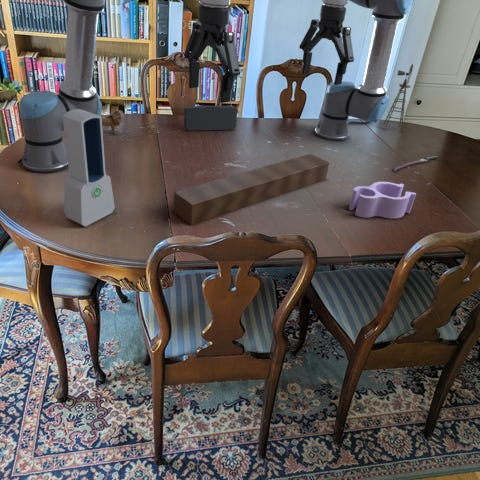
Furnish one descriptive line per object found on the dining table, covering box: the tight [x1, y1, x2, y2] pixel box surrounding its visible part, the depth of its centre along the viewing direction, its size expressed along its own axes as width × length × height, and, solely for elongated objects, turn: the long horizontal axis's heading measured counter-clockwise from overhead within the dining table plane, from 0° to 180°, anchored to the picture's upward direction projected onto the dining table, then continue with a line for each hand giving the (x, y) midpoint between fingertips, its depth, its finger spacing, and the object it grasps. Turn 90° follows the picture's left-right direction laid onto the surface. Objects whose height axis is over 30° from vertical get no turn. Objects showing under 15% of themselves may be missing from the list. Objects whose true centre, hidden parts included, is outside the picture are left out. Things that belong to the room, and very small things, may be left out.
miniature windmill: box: [383, 63, 414, 132], centre depth 220 cm, size 9×8×30 cm
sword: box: [393, 155, 441, 172], centre depth 190 cm, size 31×3×1 cm, turn 126°
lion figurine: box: [102, 109, 125, 135], centre depth 186 cm, size 15×5×9 cm, turn 110°
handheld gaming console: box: [183, 105, 239, 132], centre depth 200 cm, size 23×3×10 cm, turn 108°
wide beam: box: [173, 153, 330, 226], centre depth 153 cm, size 60×9×7 cm, turn 131°
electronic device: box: [63, 109, 116, 227], centre depth 126 cm, size 12×8×30 cm, turn 148°
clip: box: [348, 181, 417, 220], centre depth 152 cm, size 20×12×7 cm, turn 109°
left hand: (209, 94), depth 123 cm, fingers open, 13 cm apart
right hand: (321, 78), depth 149 cm, fingers open, 13 cm apart
